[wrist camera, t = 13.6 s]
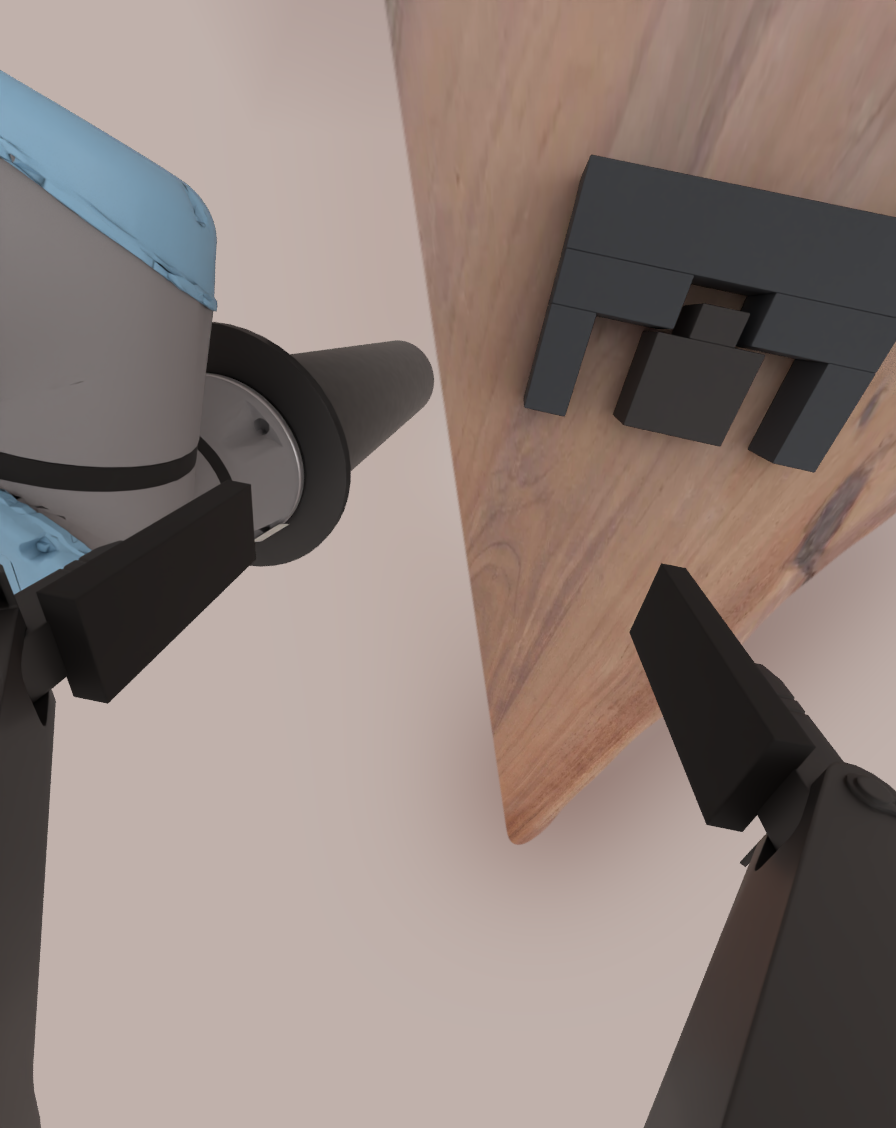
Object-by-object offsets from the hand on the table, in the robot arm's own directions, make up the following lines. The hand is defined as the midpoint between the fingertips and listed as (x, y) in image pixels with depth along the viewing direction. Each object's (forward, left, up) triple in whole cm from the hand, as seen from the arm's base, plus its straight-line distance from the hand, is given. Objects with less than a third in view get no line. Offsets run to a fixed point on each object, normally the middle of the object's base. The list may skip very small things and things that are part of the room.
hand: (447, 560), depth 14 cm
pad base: (+13, +9, -25) cm, 30 cm away
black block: (+13, +5, -25) cm, 29 cm away
